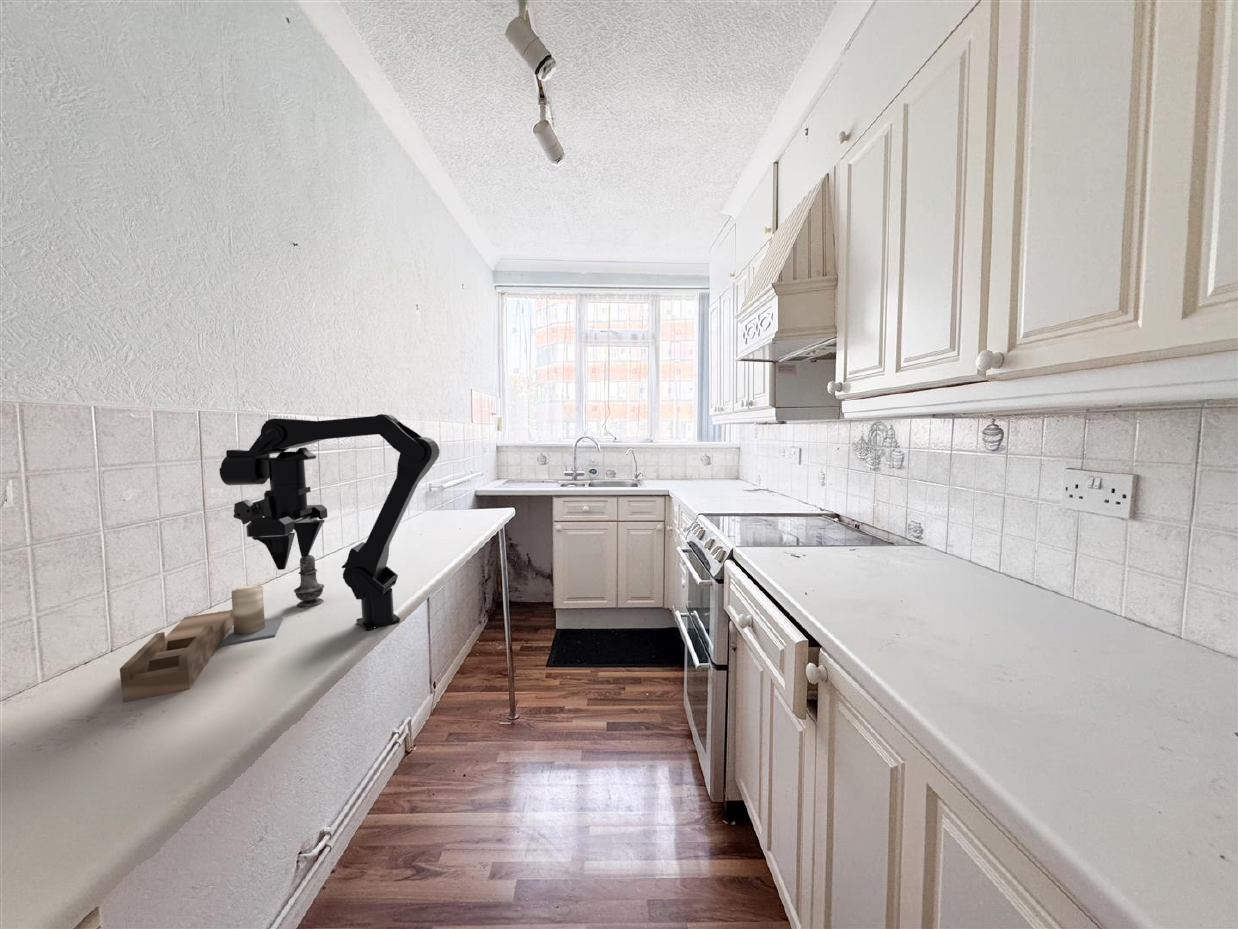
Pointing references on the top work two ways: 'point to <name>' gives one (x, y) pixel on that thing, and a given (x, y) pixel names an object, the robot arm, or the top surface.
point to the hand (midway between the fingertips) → (293, 562)
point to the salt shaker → (308, 584)
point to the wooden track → (174, 656)
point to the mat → (267, 632)
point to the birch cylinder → (248, 610)
